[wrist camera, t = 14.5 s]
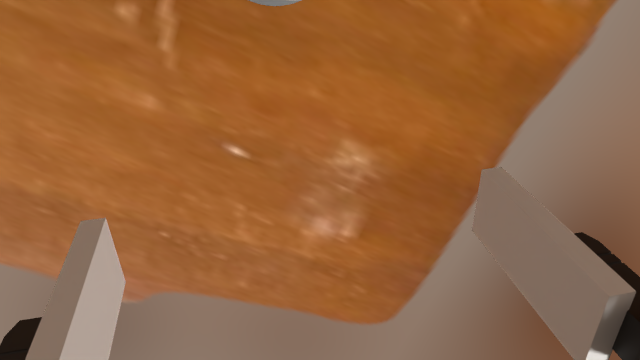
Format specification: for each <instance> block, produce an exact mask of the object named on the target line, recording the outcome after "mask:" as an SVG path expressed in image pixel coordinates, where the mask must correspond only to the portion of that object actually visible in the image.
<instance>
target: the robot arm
mask: <svg viewBox="0 0 640 360" xmlns="http://www.w3.org/2000/svg"><path fill="white" fill-rule="evenodd" d="M472 231H473V232H474V233H475V235H476V236H477V237H478V238H479V240H480V241H481V242H482V243H483V245H484V246H485V247H486V249H487V250H488V251H489V252H490V254H491V255H492V256H493V257H494V259H495V260H496V261H497V263H498V264H499V265H500V266H501V268H502V269H503V270H504V271H505V273H506V274H507V275H508V276H509V278H510V279H511V280H512V282H513V283H514V284H515V285H516V287H517V288H518V289H519V290H520V292H521V293H522V294H523V296H524V297H525V298H526V299H527V301H528V302H529V303H530V304H531V306H532V307H533V308H534V309H535V311H536V312H537V313H538V315H539V316H540V317H541V318H542V319H543V321H544V322H545V323H546V324H547V326H548V327H549V328H550V330H551V331H552V332H553V333H554V335H555V336H556V337H557V339H558V340H559V341H560V342H561V344H562V345H563V346H564V347H565V349H566V350H567V351H568V352H569V354H570V355H571V356H572V357H573V359H574V360H609V357H610V355H611V353H612V350H614V351H615V352H616V353H617V354H618V356H619V357H620V358H621V359H622V360H640V277H639V276H638V275H637V274H636V273H634V272H633V271H632V270H631V269H630V268H628V266H627V265H625V264H624V263H621V260H620V259H619V258H617V257H616V256H615V255H614V254H611V251H609V250H608V249H607V248H606V247H605V246H604V245H603V244H602V243H600V242H599V241H598V240H596V239H594V238H592V237H590V236H588V235H586V234H584V233H582V232H581V233H575V234H573V233H572V232H571V231H570V230H569V229H568V228H567V227H566V226H565V225H564V224H563V223H561V222H560V221H559V220H558V219H557V218H556V217H555V216H554V215H553V214H552V213H551V212H550V211H548V210H547V209H546V208H545V207H544V206H543V205H542V204H541V203H540V202H539V201H538V200H537V199H535V198H534V197H533V196H532V195H531V194H530V193H529V192H528V191H527V190H526V189H525V188H523V187H522V186H521V185H520V184H519V183H518V182H517V181H516V180H515V179H514V178H512V177H511V176H510V175H509V174H508V173H507V172H506V171H505V170H504V169H503V168H502V167H498V168H490V169H483V170H482V173H481V179H480V185H479V191H478V197H477V203H476V210H475V216H474V222H473V228H472ZM124 287H125V278H124V275H123V272H122V269H121V266H120V262H119V259H118V256H117V253H116V249H115V246H114V243H113V240H112V237H111V233H110V230H109V227H108V224H107V220H106V218H101V219H93V220H85V221H81V222H80V224H79V227H78V229H77V232H76V234H75V237H74V239H73V242H72V244H71V247H70V249H69V252H68V254H67V257H66V259H65V262H64V264H63V267H62V269H61V272H60V274H59V277H58V279H57V281H56V284H55V286H54V289H53V292H52V294H51V297H50V299H49V302H48V304H47V307H46V309H45V311H44V314H43V316H42V317H40V318H34V319H27V320H20V321H19V322H18V323H17V324H16V325H15V326H14V327H13V328H12V329H11V330H10V331H9V332H8V333H7V335H6V336H5V337H4V339H3V341H2V343H1V345H0V360H108V359H109V355H110V350H111V346H112V341H113V337H114V332H115V327H116V323H117V318H118V314H119V310H120V305H121V300H122V296H123V291H124Z"/></svg>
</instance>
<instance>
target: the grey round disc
mask: <svg viewBox="0 0 640 360" xmlns="http://www.w3.org/2000/svg"><path fill="white" fill-rule="evenodd" d="M249 1H252V2H255V3H258V4H262V5H268V6H281V5H288V4H292V3H296V2H298V1H301V0H249Z"/></svg>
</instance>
